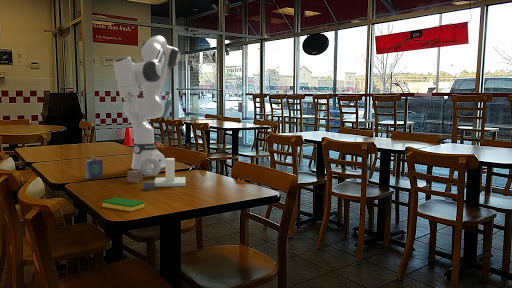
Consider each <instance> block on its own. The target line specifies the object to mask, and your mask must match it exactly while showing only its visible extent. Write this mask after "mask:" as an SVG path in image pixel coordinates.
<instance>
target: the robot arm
mask: <svg viewBox="0 0 512 288" xmlns="http://www.w3.org/2000/svg"><path fill="white" fill-rule="evenodd" d="M140 56H141V57H142V59H143V62H137V63H135V62H133V60H132V58H131V57H130V56H123V57H119V58H116V59H115V60H114V61H113V70H114V74H115V75H114V76H115V80H116V81H117V89H118V93H119V97H120V98H123V102H124V103H123V106H122V109H123V110H122V111H123V113H124V115H126V116H127V118H128V119H129V121H130V123H131V126H132V130H133V131H132V132H133V144H132V151H133V154H132V163H131V165H130V166H131V170H141V168H140V167H141V163H142V161H143V160H144V159H146V158H148V157H154V158H156V159H157V160H159V162H160V165H161V168H160V169H163V168H165V159H166V157H165V155H164V154H163V153H162V152H160V151H159V150H158V149H157V148H159V147H160V143H157V142H156V143H155V129H154V127H152V126H151V125H150V123H149V121H148V119H150V120H152V119H153V120H155V119H157V118H161V117H162V116H163V115H164V113H165V105H164V103H163V101H162V99H161V94H162V89H163V88H164V84H165V82H166V78H167V73H168V70H171V69H172V68H174V67H176V66H177V65H178V63H179V61H180V60H181V52H180V50H179V49H178V48H176V47H174V46H172V45H171V46H170V45H168V42H167V39H165V37H164V36H162V35H154V36H152V37H150V38H149V39H147V40H145V41H143V43H142V44H141V47H140ZM139 85H141V91H142V92H143V93H144V96H143V98H138V96H139V95H140V89H139ZM120 98H119V99H120ZM147 168H148V169H149V170H153V168H154V165H153V164H149V165H148V166H147Z"/></svg>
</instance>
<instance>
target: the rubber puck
mask: <svg viewBox="0 0 512 288" xmlns="http://www.w3.org/2000/svg"><path fill="white" fill-rule="evenodd" d="M154 181H155V180H154ZM154 181H153V180H152V181H151V180H148V181H142V182H143V183H142V184H143V185H142V188H143V190H144V191H154V190H156V187H155V182H154Z"/></svg>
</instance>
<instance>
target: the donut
mask: <svg viewBox="0 0 512 288" xmlns="http://www.w3.org/2000/svg"><path fill="white" fill-rule="evenodd" d="M149 164H153V165H154V168H153V169H148V168H147V166H148V165H149ZM140 168H141V171H142V175H144V176H145V177H150V178H151V177H155V176H157V175H158V174H159V173H160V171H161V169H162V168H161V165H160V162H159V160H157V159H156V158H154V157H148V158H146V159H144V160H143V161H142V163H141V167H140Z"/></svg>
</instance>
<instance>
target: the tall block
mask: <svg viewBox="0 0 512 288" xmlns="http://www.w3.org/2000/svg"><path fill="white" fill-rule="evenodd" d="M175 160H176V159H175V158H174V157H170V158H169V157H167V158H166V157H165V167H164V168H165V177H166V181H175V177H176V176H175V171H176V170H175V162H176V161H175Z"/></svg>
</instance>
